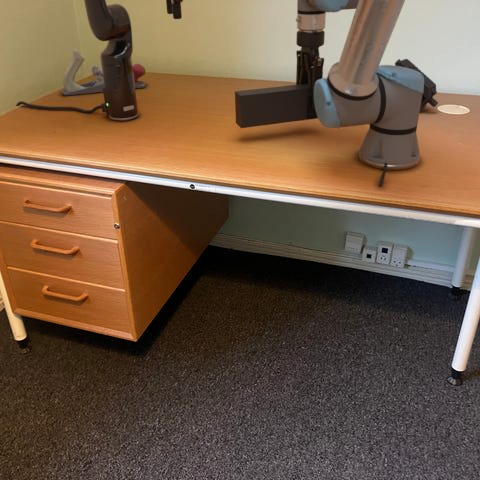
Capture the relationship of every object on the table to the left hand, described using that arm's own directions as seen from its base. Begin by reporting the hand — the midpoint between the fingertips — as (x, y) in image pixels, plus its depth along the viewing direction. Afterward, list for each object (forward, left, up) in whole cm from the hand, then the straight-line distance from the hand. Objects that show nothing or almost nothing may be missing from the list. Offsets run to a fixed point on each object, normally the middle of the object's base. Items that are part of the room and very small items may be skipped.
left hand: (174, 16), depth 146 cm
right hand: (+36, +12, -27) cm, 46 cm away
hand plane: (-48, +22, -32) cm, 62 cm away
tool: (+56, +46, -32) cm, 80 cm away
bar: (+29, +6, -27) cm, 40 cm away
